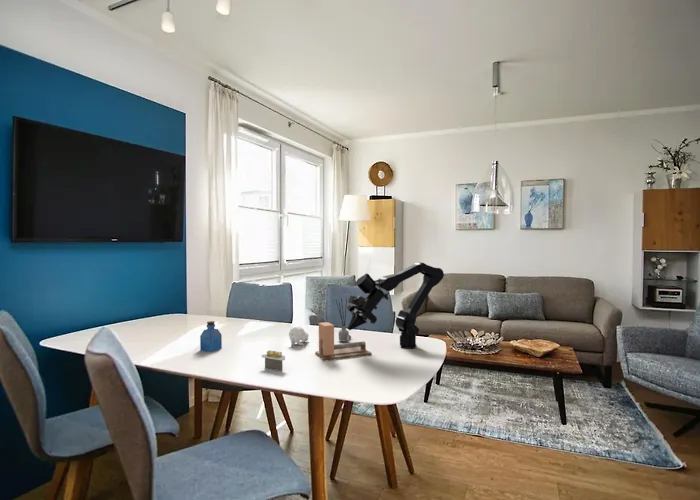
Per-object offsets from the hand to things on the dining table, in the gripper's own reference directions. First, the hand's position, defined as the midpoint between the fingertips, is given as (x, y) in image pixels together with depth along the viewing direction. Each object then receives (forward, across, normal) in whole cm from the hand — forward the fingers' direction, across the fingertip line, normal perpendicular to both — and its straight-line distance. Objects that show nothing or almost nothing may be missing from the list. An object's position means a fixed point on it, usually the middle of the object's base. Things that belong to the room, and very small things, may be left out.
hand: (348, 329), depth 175 cm
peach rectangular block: (+13, 0, -1) cm, 13 cm away
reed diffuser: (+3, -22, +12) cm, 25 cm away
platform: (+30, +7, -16) cm, 35 cm away
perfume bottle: (+43, -31, -30) cm, 61 cm away
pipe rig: (+10, 0, +5) cm, 11 cm away
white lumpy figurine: (+16, -26, -2) cm, 31 cm away
